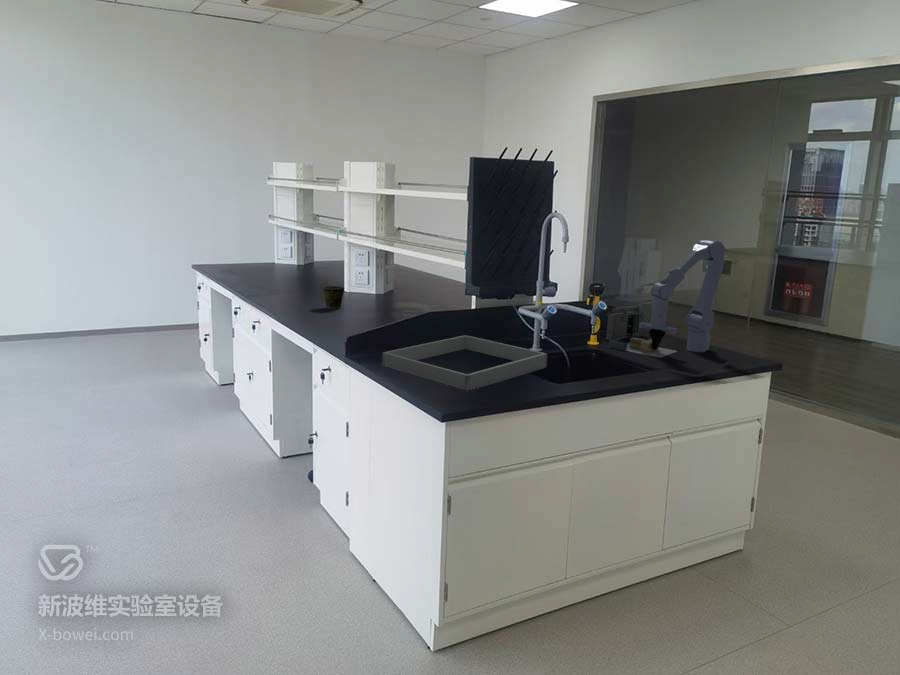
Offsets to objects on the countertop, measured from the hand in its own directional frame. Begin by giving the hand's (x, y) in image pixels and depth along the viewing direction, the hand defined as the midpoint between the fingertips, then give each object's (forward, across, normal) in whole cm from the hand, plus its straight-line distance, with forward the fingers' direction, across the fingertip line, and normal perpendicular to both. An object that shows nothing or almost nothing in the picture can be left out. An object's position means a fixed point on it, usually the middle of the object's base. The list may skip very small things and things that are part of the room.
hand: (655, 348), depth 271 cm
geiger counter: (+2, -22, +20) cm, 30 cm away
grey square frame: (+2, -36, -72) cm, 80 cm away
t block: (+1, -6, 0) cm, 6 cm away
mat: (+2, -5, 0) cm, 6 cm away
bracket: (+1, -12, 0) cm, 12 cm away
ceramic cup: (+2, -148, -37) cm, 152 cm away
